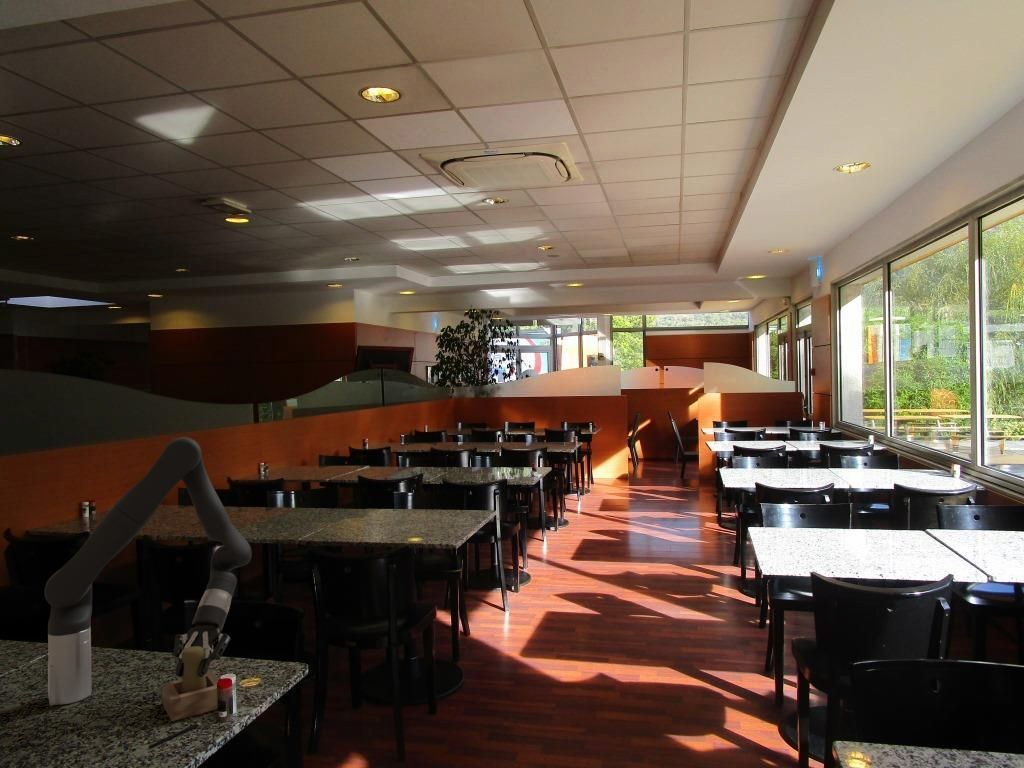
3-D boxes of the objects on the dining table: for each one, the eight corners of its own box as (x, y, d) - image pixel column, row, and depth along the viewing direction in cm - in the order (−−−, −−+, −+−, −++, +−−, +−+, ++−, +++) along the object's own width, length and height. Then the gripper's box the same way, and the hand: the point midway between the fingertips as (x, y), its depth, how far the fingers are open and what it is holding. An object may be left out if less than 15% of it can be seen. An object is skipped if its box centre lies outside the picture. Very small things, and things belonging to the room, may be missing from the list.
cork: (197, 698, 168) (195, 652, 168) (175, 697, 169) (173, 651, 169) (212, 687, 174) (211, 643, 174) (191, 686, 175) (190, 642, 175)
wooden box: (171, 721, 163) (171, 699, 163) (162, 703, 172) (162, 683, 172) (225, 706, 170) (225, 686, 170) (213, 690, 179) (213, 671, 180)
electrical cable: (199, 725, 161) (199, 721, 161) (201, 726, 160) (201, 722, 160) (148, 749, 150) (148, 744, 150) (151, 750, 150) (150, 745, 150)
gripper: (180, 604, 179) (154, 669, 167) (234, 603, 179) (212, 669, 166) (191, 618, 185) (167, 682, 173) (244, 617, 184) (223, 682, 172)
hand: (189, 675), depth 170 cm, fingers closed on cork, 5 cm apart
